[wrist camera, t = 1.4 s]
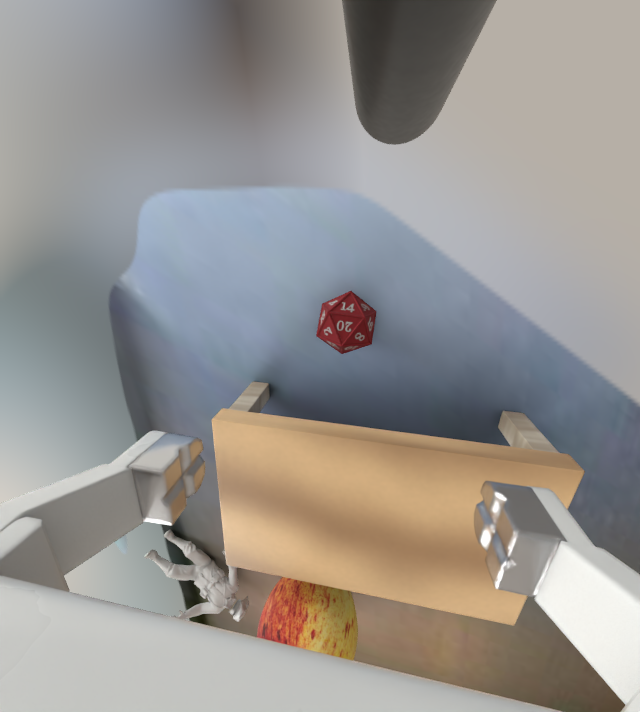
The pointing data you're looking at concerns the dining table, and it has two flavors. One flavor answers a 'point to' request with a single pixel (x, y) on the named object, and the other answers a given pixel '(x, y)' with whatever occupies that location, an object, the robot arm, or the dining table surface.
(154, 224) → the dining table surface
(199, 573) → the soldier figure
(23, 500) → the robot arm
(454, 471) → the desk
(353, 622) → the apple
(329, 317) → the dice
